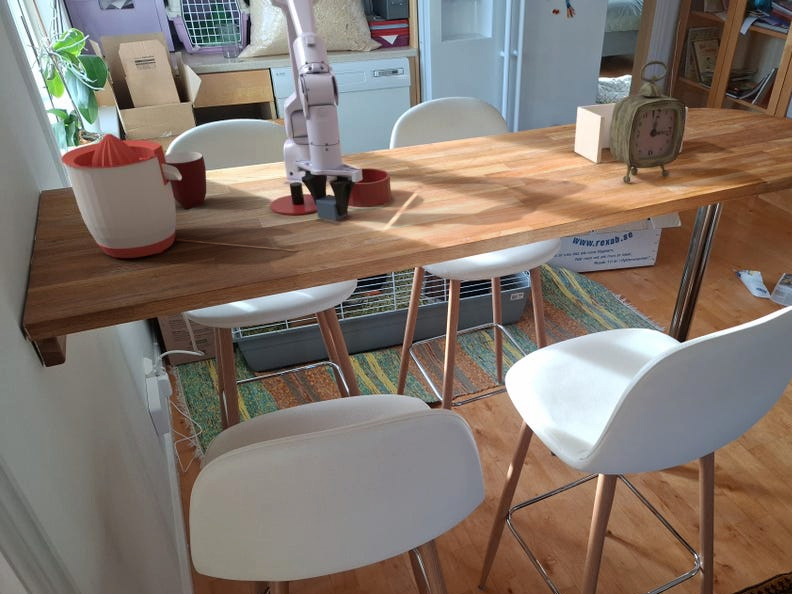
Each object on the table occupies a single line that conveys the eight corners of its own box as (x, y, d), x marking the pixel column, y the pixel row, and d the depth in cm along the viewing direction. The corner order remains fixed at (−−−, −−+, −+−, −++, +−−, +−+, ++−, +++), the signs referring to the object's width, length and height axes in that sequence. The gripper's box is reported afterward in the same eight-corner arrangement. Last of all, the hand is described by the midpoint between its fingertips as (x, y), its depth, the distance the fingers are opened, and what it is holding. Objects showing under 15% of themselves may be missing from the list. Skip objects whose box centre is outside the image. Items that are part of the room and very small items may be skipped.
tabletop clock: (623, 186, 154) (638, 66, 140) (601, 174, 160) (613, 59, 147) (676, 178, 159) (695, 61, 145) (652, 167, 166) (668, 55, 152)
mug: (159, 216, 137) (146, 166, 131) (157, 203, 143) (145, 155, 137) (215, 209, 140) (204, 160, 135) (211, 197, 146) (200, 149, 141)
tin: (333, 207, 141) (330, 182, 138) (351, 191, 150) (349, 166, 147) (382, 211, 140) (380, 185, 137) (397, 194, 148) (396, 169, 145)
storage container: (656, 141, 185) (662, 98, 179) (681, 152, 176) (688, 107, 170) (574, 151, 177) (577, 106, 171) (596, 163, 168) (600, 116, 162)
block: (318, 220, 136) (315, 200, 133) (330, 213, 139) (328, 194, 136) (336, 224, 134) (334, 204, 132) (348, 217, 137) (346, 197, 135)
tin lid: (261, 215, 137) (256, 191, 135) (285, 197, 147) (281, 173, 144) (313, 220, 135) (310, 195, 133) (335, 201, 145) (332, 177, 142)
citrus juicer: (194, 258, 120) (166, 141, 109) (84, 269, 116) (44, 150, 105) (198, 225, 133) (173, 118, 122) (99, 235, 129) (65, 125, 118)
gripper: (279, 142, 128) (289, 212, 135) (343, 152, 122) (350, 225, 130) (303, 133, 133) (312, 201, 141) (366, 142, 128) (372, 213, 135)
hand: (332, 211), depth 135 cm, fingers closed on block, 4 cm apart
